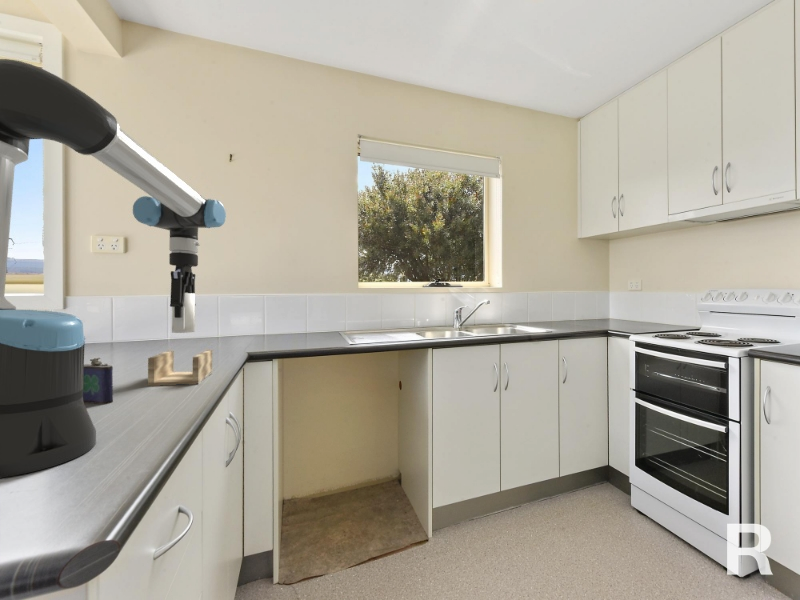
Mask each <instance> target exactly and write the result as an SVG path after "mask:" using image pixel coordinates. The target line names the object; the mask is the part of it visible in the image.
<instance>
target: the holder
mask: <svg viewBox="0 0 800 600" xmlns="http://www.w3.org/2000/svg"><path fill="white" fill-rule="evenodd" d="M174 353H175V352H174V350H167V351H164V352H161V353H159V354H155V355H153V356H150V357H148V358H147V359H148V360H147V387H155V386H156V387H158V386H160V385H163V386H177V385H176V384H189V385H197V384H196V383H199V382H200V381H201V380H203V379H204V378H205V377H206V376H207V375H208V374H210V373H211V372H212V373H213V349H209V350H208V349H207V350H205V351H203V352H201V353H198V354H196V355H195V356H193V357H192V371H174V365H175V364H174V361H175V359H174V358H175V354H174ZM204 380H205V379H204ZM204 380H203V381H204ZM200 383H201V382H200ZM200 383H199V384H200Z"/></svg>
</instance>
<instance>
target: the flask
mask: <svg viewBox="0 0 800 600" xmlns="http://www.w3.org/2000/svg"><path fill="white" fill-rule="evenodd" d="M100 359H101V357H97V358H96V357H95V358H93V359H92V358H91V359H89V361H90V364H89V363H86V364H85V363H84V376H83V402H84V404H98V405H108V404H109V405H110V404H112V403H113V402H114V392H113V391H114V388H113V387H114V386H113V383H114V381H113V368H114V367H113V365H111V364H108V363H103V362H102V361H99V360H100Z"/></svg>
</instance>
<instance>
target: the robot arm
mask: <svg viewBox="0 0 800 600" xmlns="http://www.w3.org/2000/svg"><path fill="white" fill-rule="evenodd" d="M41 139H43V140H48V141H53V142H56V143H60V144H63V145H65V146H67V147H69V148H70V149H72V150H73V151H74V152H77V153H78V154H80V155H83V156H92V157H93V158H94V159H96V160H97V161H99V162H101V163H102V164H103V165H105V166H106V167H108V169H111V170H112V171H114V172H116V173H117V174H118V175H119V176H122V178H124V179H125V180H127V181H128V182H130V183H132V184H133V185H134V186H136V187H137V188H139V189H140V190H141V191H143V192H144V193H146V194H148V195H149V196H148V195H147V196H146V195H144V196H139V198H137V199H136V200H135V201H134V203H133V205H132V214H133V217H134V219H136V222H139V223H141V224H143V225H147V226H148V227H154V228H158V229H161V230H162V229H163V230H166V231H169V245H168V246H169V248H168V249H169V252H170V253H169V256H168V257H169V258H168V259H169V265H170V266H175V268H174V271H170V279H171V280H170V300H169V307H171V308H172V307H174V329H184V328H185V307H183V304H184V297H185V293H195V294H196V289H195V288H196V284H195V283H196V274H195V273H193V270H192V269H193V267H198V265H199V256H198V254H197V253H199V246H200V245H201V244H200V242H199V228H200V229H202V228H204V229H205V228H206V229H211V228H221V227H222V226H223V225H224V224H225V222H226V218H227V216H226V215H227V213H226V209H225V206H224V205H223V203H222V202H221V201H219V200H218V199H211V198H208V199H205V197H204V196H202V195H200V194H199V193H198V192H197V191H196V190H195V189H193V188H192V187H191V186H190V185H188V184H187V183H186V182H185V181H184V180H183V179H181V178H180V176H178V175H177V174H175V173H174V172H173V171H172V170H170V169H169V168H168V167H167V166H166V165H165V164H164V163H162V161H160V160H159V159H158V158H157V157H155V156H154V155H153V154H152V153H150V152H149V151H148V150H147V149H145V148H144V147H143V146H142V145H140V144H139V142H137V141H136V140H134V138H133V137H131V136H130V135H129V134H127V133H126V131H124V130H123V129H122V128H121V127H120V125H119V121H118V119H117V118H116V117H115V115H113V114H112V113H111V112H110V111H109V110H108V109H106V108H104V107H103V106H102V104H100V103H98V101H96V100H95V99H94V98H92V97H91V96H90V95H88V94H87V93H86V92H84V91H82V90H80V88H78V87H76V86H75V85H73V84H71V83H70V82H68V81H66V80H64V79H63V78H61V77H59V76H58V75H56V74H54V73H51V72H50V71H49V70H46V69H43V68H41V67H39V66H36V65H34V64H32V63H28V62H24V61H21V60H17V59H10V58H9V59H8V58H0V479H1V478H8V477H13V476H19V475H24V474H28V473H29V474H30V473H33V472H37V471H40V470H44V469H48V468H52V467H55V466H57V465H60V464H64V463H66V462H69V461H72V460H74V459H76V458H78V457H80V456H83V455H84V454H86V453H88V452H89V451H90V450H92V449H93V448H94V447H95V446H96V445H97V430H96V428H95V425H94V422H93V420H92V418H91V416H90V414H89V412H88V409H87V407H86V405H85V403H84V402H83V376H84V365H85V345H86V344H85V343H86V341H85V340H86V338H85V337H86V336H85V335H84V324H83V321H82V320H81V319H80V318H79V317H78V316H76V315H73V314H70V313H67V312H58V311H51V310H37V309H36V310H34V309H17V307H16V305H14V304H13V303H11V302H10V301H8V299H6V297H5V290H6V280H7V279H6V278H7V266H8V253H9V240H10V229H11V218H12V206H13V205H12V203H13V193H14V192H13V191H14V178H15V167H16V165H19V164H21V163H23V162H26V161H28V160H29V151H30V149H29V148H30V141H31V140H41ZM196 304H197V303H195V307H196Z"/></svg>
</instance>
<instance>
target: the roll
mask: <svg viewBox="0 0 800 600" xmlns="http://www.w3.org/2000/svg"><path fill="white" fill-rule="evenodd" d="M195 304H196V292H195V293H185V297H184V304H183V307H185V328H184V329H174V307H171V333H175V334H185V333H187V334H188V333H195V327H196V326H195V325H196V324H195V321H196V319H195V318H196V313H195V312H196V306H195Z"/></svg>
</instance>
